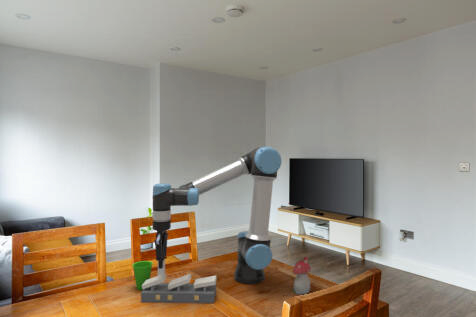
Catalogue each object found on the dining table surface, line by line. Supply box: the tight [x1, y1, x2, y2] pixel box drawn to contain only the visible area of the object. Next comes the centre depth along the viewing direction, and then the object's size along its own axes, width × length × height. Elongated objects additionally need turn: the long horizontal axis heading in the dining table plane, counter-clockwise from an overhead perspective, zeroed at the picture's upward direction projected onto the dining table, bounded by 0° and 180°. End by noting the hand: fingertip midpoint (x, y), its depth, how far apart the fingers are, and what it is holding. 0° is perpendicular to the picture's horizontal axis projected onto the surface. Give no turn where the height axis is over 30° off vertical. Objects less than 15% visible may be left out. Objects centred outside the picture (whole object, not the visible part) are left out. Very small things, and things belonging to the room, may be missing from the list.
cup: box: [132, 260, 154, 291], centre depth 143 cm, size 9×9×11 cm
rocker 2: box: [168, 273, 192, 290], centre depth 134 cm, size 9×6×2 cm, turn 89°
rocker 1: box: [142, 273, 167, 289], centre depth 134 cm, size 9×6×2 cm, turn 88°
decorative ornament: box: [292, 256, 312, 296], centre depth 139 cm, size 9×7×15 cm
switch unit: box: [140, 282, 217, 304], centre depth 134 cm, size 30×10×5 cm, turn 89°
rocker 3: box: [194, 275, 217, 288], centre depth 134 cm, size 9×6×2 cm, turn 89°
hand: (161, 274), depth 134 cm, fingers closed
